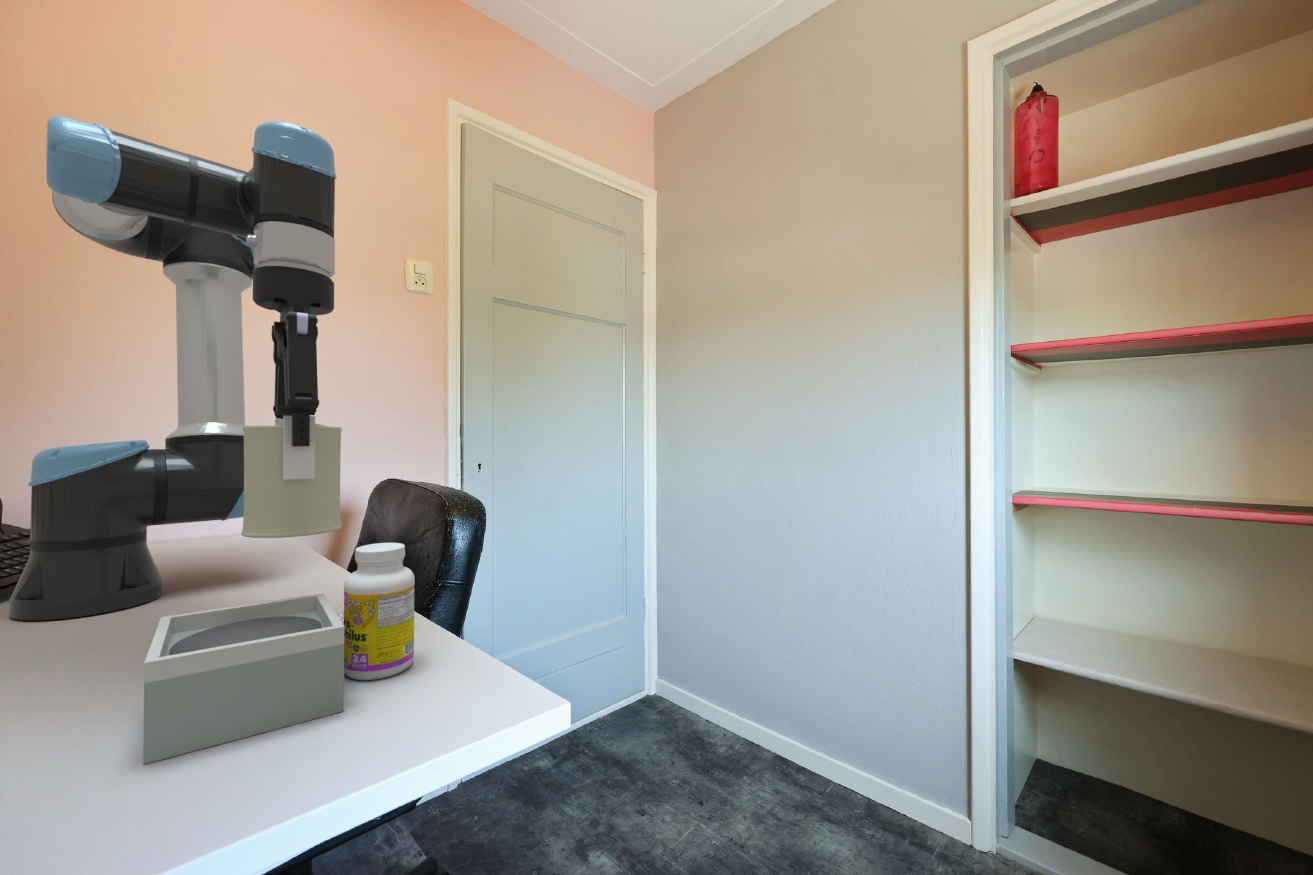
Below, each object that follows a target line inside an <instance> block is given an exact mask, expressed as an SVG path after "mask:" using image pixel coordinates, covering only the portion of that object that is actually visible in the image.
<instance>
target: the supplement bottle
mask: <svg viewBox="0 0 1313 875" xmlns="http://www.w3.org/2000/svg"><path fill="white" fill-rule="evenodd" d="M405 557H406V546H405V544H404V543H400V542H377V543H370V544H365V545H361V546H359V547H356V548H355V551H354V561H355V562H356V563H355V564H357V568H356V569H357V570H355V571H352V572H351V573H350V574H349V575H348V576H347V577H346V579H345V580H344V584H343V585H344V586H343V625H344V675H346V676H347V677H348V678H351V679H353V680H359V681H372V680H373V681H374V679H375V680H380V679H381V680H382V679H386V678H388V677H392V676H395V675H397V674H400V673H402V672H404V671H405V670H407V669H408V668H409V667H410V666H411V665H412V663H413V661H414V656H415V655H414V654H415V649H414V648H415V586H416V585H415V584H416V583H415V582H416V581H415V574H414V572H413V571H412V570H411V569H410V568H408V567H406V566H404V558H405Z"/></svg>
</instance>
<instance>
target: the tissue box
mask: <svg viewBox="0 0 1313 875" xmlns="http://www.w3.org/2000/svg"><path fill="white" fill-rule="evenodd" d="M152 638H153V639H152V641H151V644H150V647H149V648H148V651H147V655H146V658H145V660H144V663H143V666H144V668H143V672H144V673H143V748H142V750H143V754H142V755H143V757H142V761H143V765H147V764H150V763H154V762H158V761H162V760H165V759H168V758H173V757H176V756H180V755H185V754H187V753H192V752H195V751H199V750H203V749H206V748H210V747H214V746H218V745H221V744H225V743H229V742H230V743H231V742H233V741H237V740H241V739H244V738H248V737H252V736H256V735H259V734H262V733H267V732H271V731H274V730H278V729H282V728H286V727H290V726H293V725H297V724H300V723H304V722H308V721H312V720H315V719H319V718H324V717H327V716H330V715H334V714H339V713H343V712H344V710H345V709H344V705H345V704H344V702H345V701H344V700H345V695H344V694H345V690H344V689H345V686H344V685H345V673H344V623H343V622H342V621H341V619H340V617H339V616H338V614H337V612H336V610H335V609H334V608H333V606H332V604H331V603H330V601H329V599H328V598H327V595H326V594H325V593H324V592H323V593H317V594H310V595H303V596H298V597H297V596H296V597H289V598H284V599H276V600H275V599H274V600H270V601H263V602H256V603H255V602H254V603H248V604H242V605H235V606H229V607H228V606H227V607H221V608H220V607H219V608H214V609H207V610H200V611H192V612H187V613H181V614H179V613H178V614H174V615H165V616H161V617H160V619H159V622H158V625H157V627H156V630H155V632H154V636H153V637H152Z"/></svg>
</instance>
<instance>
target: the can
mask: <svg viewBox="0 0 1313 875" xmlns="http://www.w3.org/2000/svg"><path fill="white" fill-rule="evenodd" d="M342 430H343V428H342V427H340V426H327V425H325V424H319V423H317V422H315V478H314V479H286V480H284V479H283V426H275V425H245V426H243V432H244V514H243V517H242V519H243V520H242V521H243V522H242V530H241V536H242V537H245V538H250V539H251V538H253V539H280V538H283V539H284V538H295V537H296V538H297V537H307V536H316V535H321V534H326V533H327V534H328V533H331V532H336V531H338V530H340V529H342V527H343V525H342V517H341V456H342V455H341V451H342V449H341V447H342V446H341V445H342Z"/></svg>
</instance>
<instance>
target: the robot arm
mask: <svg viewBox="0 0 1313 875" xmlns="http://www.w3.org/2000/svg"><path fill="white" fill-rule="evenodd" d="M46 126H47V132H46V152H45V153H46V154H45V155H46V156H45V157H46V161H45V162H46V166H45V168H46V169H45V170H46V171H45V174H46V183H47V186H48V187H49V188H50V189H51V190H52V192H51V198H52V203H53V207H54V209H55V211H56V213H57V215H58V216H59V217H60V219H61V220H63V222H64V224H66V225H68V227H69V228H71V229H72V230H74V232H76V233H77V234H79V235H81V236H83V237H84V238H87V239H88V240H90V241H92V242H94V243H97V244H99V245H101V246H102V247H104V248H107V249H111V250H112V251H116V252H117V253H122V254H125V255H128V256H132V257H136V258H141V259H146V260H151V261H156V262H160V263H162V273H163V275H164V276H165V277H166V278H167V279H168V280H169V281H170V282H171V283H173V284H174V286H175V311H176V313H175V315H176V317H175V318H176V322H175V323H176V375H177V376H176V377H177V378H176V379H177V387H176V388H177V427H176V429H175V430H174V431H172V432H171V433H170V434H168V435H167V436H166V437H165V440H164V441H165V448H157V449H156V448H155V449H154V448H150V444H149V443H148V441H147V440H145V439H138V440H137V439H136V440H124V441H123V440H122V441H113V442H112V441H111V442H100V443H91V444H89V443H88V444H80V445H79V444H78V445H70V446H68V445H67V446H59V447H52V448H47V449H43V450H41V451H40V452H38V453H37V454H35V455H34V457H33V459H32V462H31V472H30V480H29V482H28V483H27V484H28V487H31V493H30V497H31V498H30V522H29V523H30V528H29V529H30V530H29V534H30V535H29V541H30V542H29V543H30V544H29V557H28V560H27V562H26V564H25V566H24V568H23V571H22V573H21V574H20V577H19V579H18V581H17V583H16V586H15V588H14V590H13V592H12V594H11V596H10V598H9V606H8V608H9V611H8V612H9V613H8V615H9V616H8V617H9V618H10V617H12V618H11V619H13V618H14V619H13V620H17V619H19V621H51V620H61V619H63V620H65V619H71V618H79V617H86V616H93V615H99V614H105V613H109V612H115V611H120V610H123V609H128V608H133V607H136V606H139V605H142V604H146V603H148V602H151V601H153V600H156V599H157V598H159V597H160V596H162V594H163V593H162V592H163V580H162V576H161V574H160V573H159V570H158V568H157V565H156V563H155V561H154V558H153V556H152V554H151V551H150V550H149V547H148V543H147V542H148V541H147V540H148V539H147V537H148V536H147V534H148V527H150V526H159V525H160V526H161V525H165V526H166V525H175V524H187V523H199V522H208V521H209V522H211V521H212V522H213V521H222V522H223V521H224V522H225V521H227V520H230V519H238V518H239V519H240V518H243V514H244V432H243V426H246V417H245V416H246V414H245V413H246V411H245V410H246V409H245V381H244V380H245V376H244V375H245V374H244V372H245V370H244V343H243V342H244V341H243V340H244V339H243V313H242V312H243V311H242V310H243V309H242V308H243V307H242V303H243V302H242V301H243V300H242V293H243V292H244V291H246V290H248V289H249V288H250V287H251V286H252V301H253V303H254V304H255V305H257V307H258V306H259V307H260V308H262V309H263V308H264V309H266V310H269V311H270V310H271V311H275V312H277V313H280V316H279V321H274V322H273V325H271V332H270V333H271V340H272V342H273V351H272V357H273V363H274V365H275V369H274V371H275V372H274V402H273V403H274V405H273V406H272V411H273V413H274V416H275V419H274V426H283V479H284V480H286V479H314V478H315V423H316V416H315V415H316V413H317V409H318V408H319V405H320V399H319V390H318V389H319V388H318V386H319V385H318V384H319V383H318V382H319V381H318V356H317V354H318V351H317V341H318V336H319V330H318V326H317V324H318V322H319V319H318V317H317V316H324V315H329V314H331V313H332V312H333V311H334V309H335V283H334V281H333V279H332V277H334V275H335V273H336V272H335V271H336V268H335V267H336V266H335V265H336V263H335V262H336V259H335V258H336V240H335V212H336V211H335V210H336V208H335V203H336V202H335V201H336V199H335V198H336V197H335V194H336V180H337V173H336V167H335V165H336V164H335V154H334V150H333V147H332V146H331V144H330V142H328V140H326V139H325V138H324V137H322V136H321V135H320V134H318V133H317V132H315V131H313V130H312V129H308V128H306V127H303V126H300V125H298V124H294V123H290V122H285V121H267V122H263V123H261V124H259V125H258V126H257V127H256V129H255V130H254V136H253V137H254V138H253V146H252V147H251V153H253V154H252V156H253V157H252V159H253V161H252V167H251V169H250V170H249V171H245V170H242V169H240V168H239V169H238V168H235V167H232V166H229V165H226V164H222V163H219V162H216V161H214V160H210V159H206V158H203V157H199V156H197V155H192V154H189V153H186V152H183V151H179V150H175V149H172V148H169V147H166V146H163V145H160V144H157V143H153V142H150V141H146V140H144V139H141V138H137V137H133V136H131V135H128V134H124V133H121V132H118V131H116V130H115V131H114V130H111V129H109V128H106V127H105V126H104V125H102V124H96V123H89V122H84V121H80V120H76V119H72V118H69V117H66V116H62V115H61V116H59V115H56V116H53V117H51V118H49V119H48V121H47V124H46Z"/></svg>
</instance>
